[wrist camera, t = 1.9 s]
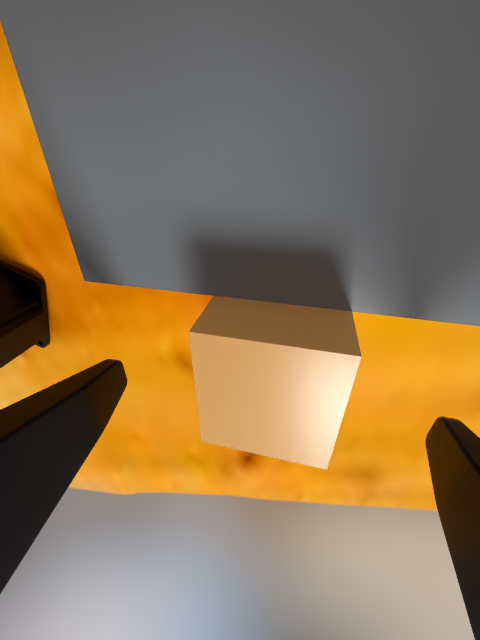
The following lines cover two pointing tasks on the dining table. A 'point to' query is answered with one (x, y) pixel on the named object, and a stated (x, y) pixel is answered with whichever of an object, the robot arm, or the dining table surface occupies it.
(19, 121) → the dining table surface
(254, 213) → the lid
